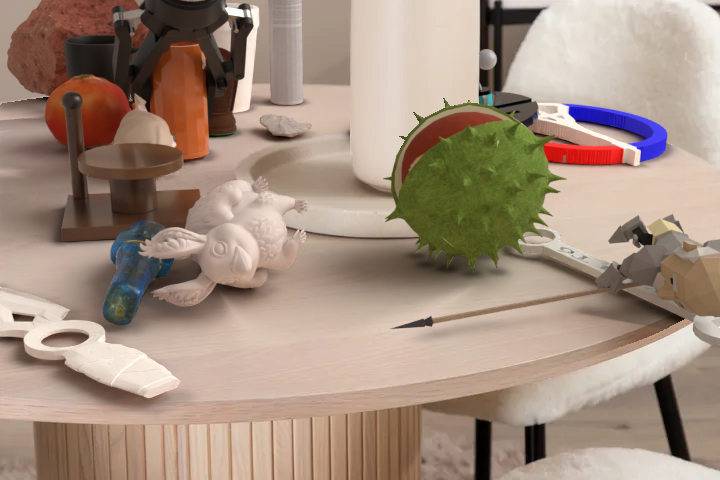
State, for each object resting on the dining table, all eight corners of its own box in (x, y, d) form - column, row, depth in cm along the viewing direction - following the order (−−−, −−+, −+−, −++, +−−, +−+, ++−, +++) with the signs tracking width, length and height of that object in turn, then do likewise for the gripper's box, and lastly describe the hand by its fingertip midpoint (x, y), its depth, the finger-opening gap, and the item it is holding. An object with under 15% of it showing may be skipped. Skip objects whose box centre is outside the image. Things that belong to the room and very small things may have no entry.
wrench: (782, 325, 73) (734, 347, 71) (781, 333, 74) (733, 355, 71) (541, 222, 92) (497, 236, 90) (541, 229, 93) (497, 243, 90)
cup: (152, 146, 119) (146, 38, 115) (207, 145, 120) (202, 37, 116) (153, 160, 113) (146, 47, 109) (210, 158, 115) (206, 46, 110)
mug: (153, 125, 130) (148, 47, 127) (59, 121, 131) (52, 43, 128) (174, 111, 138) (170, 37, 134) (85, 107, 139) (79, 33, 136)
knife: (120, 412, 61) (118, 399, 61) (-95, 293, 79) (-96, 283, 79) (204, 378, 65) (203, 366, 65) (-18, 273, 83) (-19, 263, 83)
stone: (284, 142, 123) (285, 125, 122) (243, 129, 128) (244, 113, 127) (319, 139, 127) (320, 122, 126) (278, 126, 132) (279, 110, 131)
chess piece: (200, 126, 129) (196, 43, 126) (242, 126, 130) (239, 44, 126) (195, 135, 125) (191, 49, 122) (239, 135, 125) (236, 50, 122)
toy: (396, 291, 86) (392, 362, 72) (388, 227, 85) (382, 287, 70) (754, 253, 85) (823, 317, 71) (753, 188, 83) (823, 240, 69)
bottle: (302, 98, 147) (300, -53, 140) (303, 105, 143) (301, -50, 136) (270, 98, 146) (266, -53, 139) (271, 105, 142) (267, -51, 135)
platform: (335, 121, 135) (328, 70, 132) (495, 89, 140) (491, 40, 138) (387, 162, 115) (379, 104, 113) (571, 124, 121) (567, 67, 118)
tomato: (51, 158, 114) (44, 84, 111) (44, 139, 122) (37, 69, 119) (139, 152, 117) (134, 79, 115) (127, 133, 125) (122, 65, 123)
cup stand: (69, 207, 99) (57, 89, 95) (200, 200, 102) (194, 86, 98) (62, 242, 90) (49, 113, 86) (206, 234, 92) (200, 108, 89)
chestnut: (503, 66, 91) (531, 46, 76) (576, 215, 92) (617, 223, 78) (346, 146, 91) (343, 142, 76) (421, 294, 93) (433, 317, 78)
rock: (105, 108, 159) (25, 141, 148) (49, 21, 157) (-35, 48, 146) (178, 44, 145) (96, 75, 134) (118, -52, 143) (30, -29, 132)
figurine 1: (149, 337, 73) (172, 268, 87) (164, 287, 72) (185, 226, 86) (81, 318, 72) (115, 251, 87) (94, 267, 71) (127, 208, 86)
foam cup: (190, 117, 135) (185, 12, 130) (187, 102, 143) (181, 3, 139) (265, 114, 137) (262, 11, 133) (257, 99, 146) (254, 2, 141)
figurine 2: (345, 268, 78) (203, 339, 71) (238, 261, 90) (106, 321, 83) (314, 164, 76) (164, 226, 69) (209, 170, 88) (70, 224, 80)
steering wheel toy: (583, 110, 142) (584, 97, 142) (713, 155, 122) (715, 141, 121) (441, 123, 133) (441, 110, 132) (555, 175, 112) (556, 160, 112)
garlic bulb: (187, 169, 112) (183, 94, 109) (164, 186, 106) (159, 106, 103) (127, 165, 113) (122, 90, 110) (101, 182, 107) (95, 103, 104)
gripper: (84, 8, 94) (89, 144, 114) (295, 4, 100) (265, 134, 120) (76, -59, 97) (83, 85, 117) (282, -59, 103) (255, 79, 123)
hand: (175, 110), depth 119 cm, fingers closed on cup, 6 cm apart
